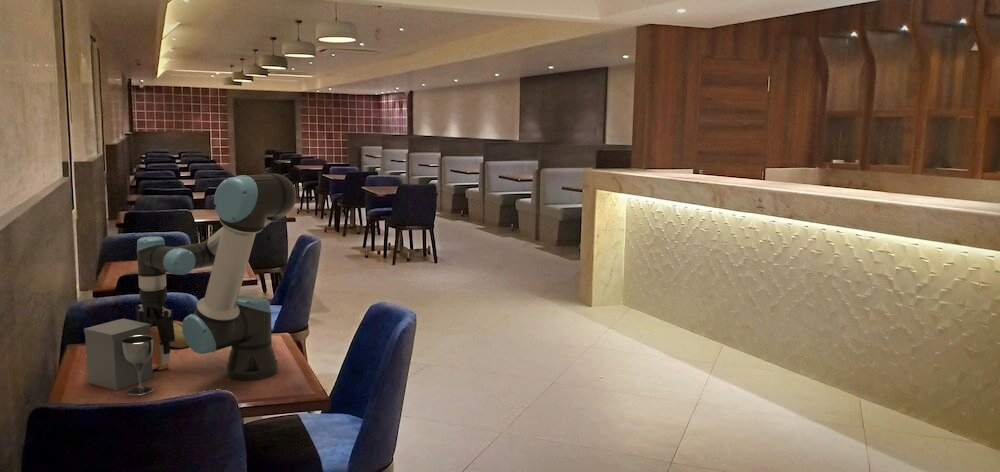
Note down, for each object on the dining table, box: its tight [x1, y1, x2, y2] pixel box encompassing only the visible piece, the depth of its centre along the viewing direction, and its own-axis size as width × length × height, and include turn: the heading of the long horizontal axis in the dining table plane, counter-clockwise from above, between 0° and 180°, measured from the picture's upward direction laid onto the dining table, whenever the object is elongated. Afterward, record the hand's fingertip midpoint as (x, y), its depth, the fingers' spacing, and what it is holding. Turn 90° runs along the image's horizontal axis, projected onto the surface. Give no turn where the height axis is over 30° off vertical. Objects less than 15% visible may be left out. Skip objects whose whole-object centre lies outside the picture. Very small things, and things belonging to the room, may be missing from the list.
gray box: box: [83, 318, 154, 391], centre depth 221 cm, size 12×13×16 cm
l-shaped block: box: [150, 326, 169, 371], centre depth 229 cm, size 6×11×12 cm, turn 153°
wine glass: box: [122, 335, 155, 396], centre depth 213 cm, size 8×8×15 cm
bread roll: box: [155, 320, 189, 349], centre depth 256 cm, size 10×15×8 cm, turn 69°
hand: (157, 361), depth 233 cm, fingers open, 6 cm apart
